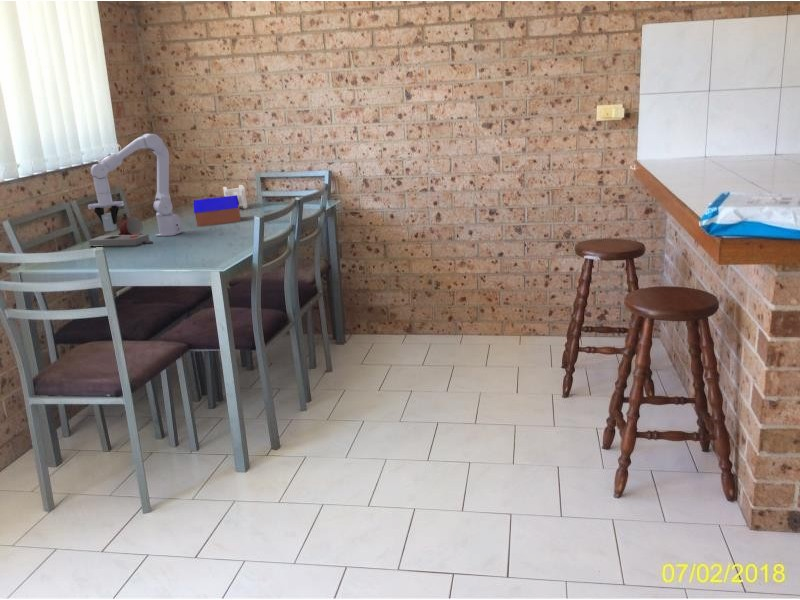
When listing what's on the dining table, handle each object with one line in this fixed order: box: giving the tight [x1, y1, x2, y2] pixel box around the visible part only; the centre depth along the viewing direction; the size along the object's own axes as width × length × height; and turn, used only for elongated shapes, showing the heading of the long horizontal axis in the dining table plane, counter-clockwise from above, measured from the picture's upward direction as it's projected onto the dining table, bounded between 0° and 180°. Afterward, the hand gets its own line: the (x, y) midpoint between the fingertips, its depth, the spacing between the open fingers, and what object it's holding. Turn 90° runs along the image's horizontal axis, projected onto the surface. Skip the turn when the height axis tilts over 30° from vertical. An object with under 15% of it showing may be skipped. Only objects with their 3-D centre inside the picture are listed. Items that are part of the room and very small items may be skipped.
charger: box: [101, 212, 118, 232], centre depth 318 cm, size 4×4×7 cm
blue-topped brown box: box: [193, 195, 242, 227], centre depth 350 cm, size 12×20×12 cm, turn 99°
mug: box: [117, 217, 144, 235], centre depth 336 cm, size 10×8×10 cm
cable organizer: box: [222, 184, 248, 210], centre depth 384 cm, size 15×11×12 cm
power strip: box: [88, 233, 154, 248], centre depth 319 cm, size 29×9×4 cm, turn 72°
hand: (109, 224), depth 319 cm, fingers closed on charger, 4 cm apart
